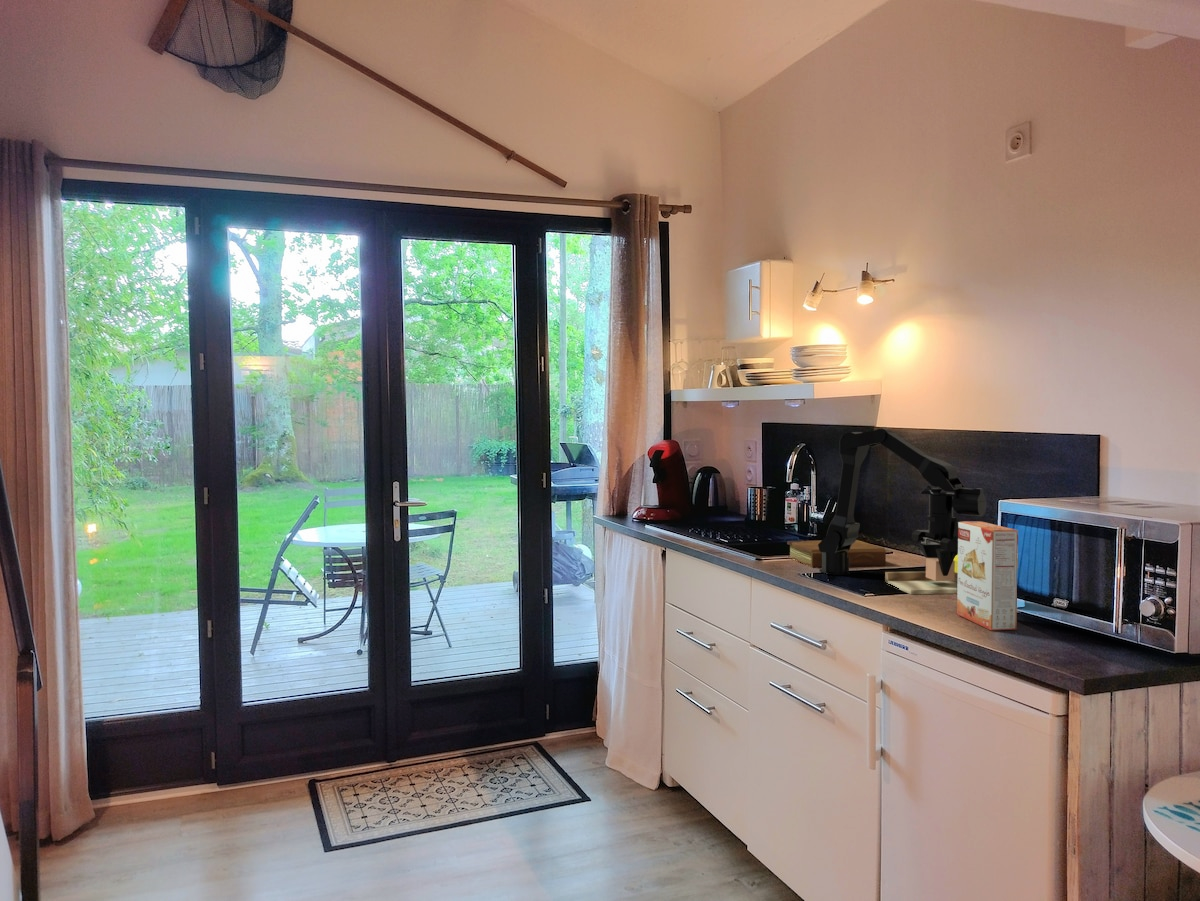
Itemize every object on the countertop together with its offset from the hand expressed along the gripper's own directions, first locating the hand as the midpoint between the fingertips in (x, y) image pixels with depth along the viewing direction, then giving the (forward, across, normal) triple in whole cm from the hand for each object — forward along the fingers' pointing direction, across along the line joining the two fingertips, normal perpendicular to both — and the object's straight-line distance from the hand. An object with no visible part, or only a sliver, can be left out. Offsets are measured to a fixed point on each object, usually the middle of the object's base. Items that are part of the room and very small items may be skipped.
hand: (939, 573), depth 216 cm
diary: (+4, +42, +10) cm, 44 cm away
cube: (+1, 0, 0) cm, 1 cm away
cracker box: (+4, -36, +9) cm, 37 cm away
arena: (+4, 0, +2) cm, 4 cm away
